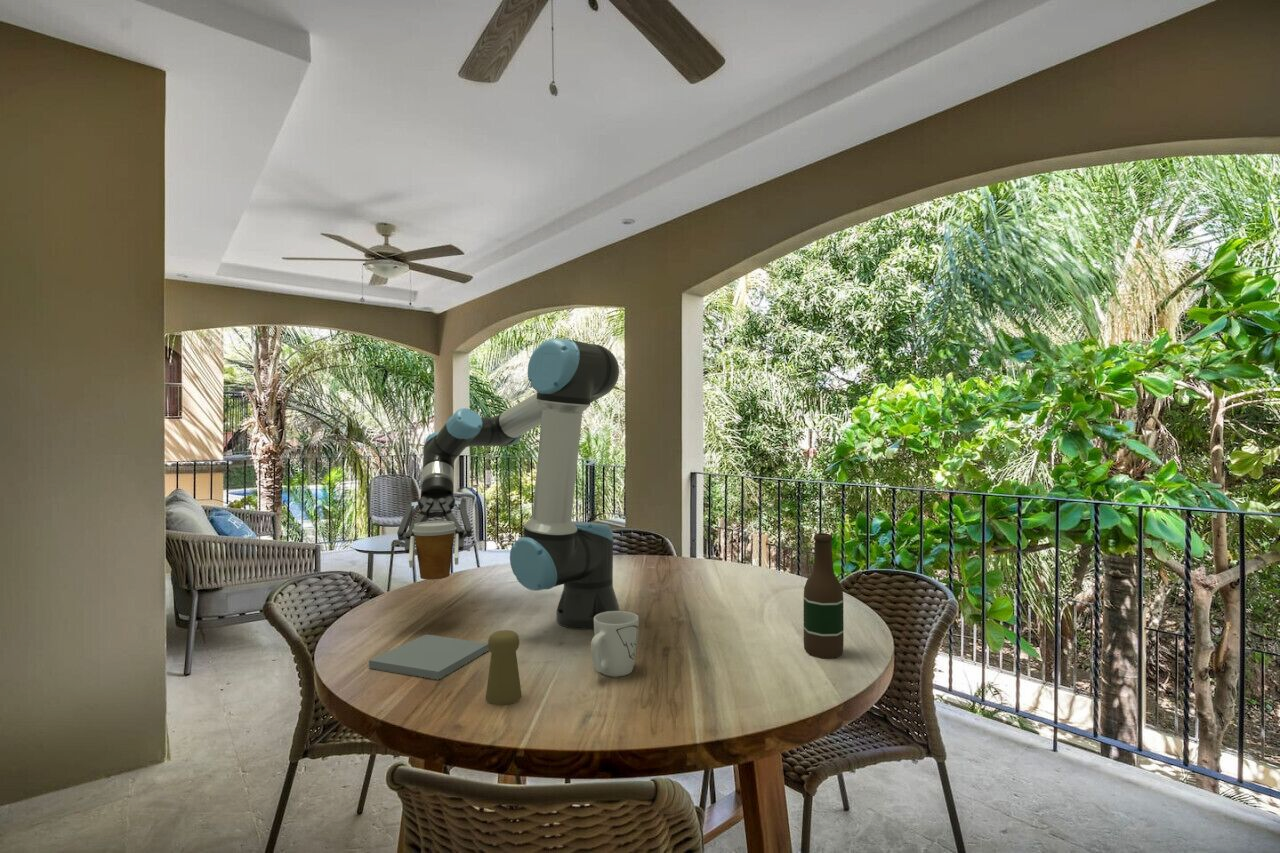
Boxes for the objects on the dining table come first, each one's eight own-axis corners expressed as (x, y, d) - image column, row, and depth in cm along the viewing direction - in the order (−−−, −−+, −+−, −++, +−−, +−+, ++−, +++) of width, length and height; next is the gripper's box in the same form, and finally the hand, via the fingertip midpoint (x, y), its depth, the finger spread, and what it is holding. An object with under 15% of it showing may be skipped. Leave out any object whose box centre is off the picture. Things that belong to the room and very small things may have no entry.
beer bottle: (843, 648, 130) (843, 532, 130) (843, 661, 123) (842, 538, 123) (805, 644, 133) (804, 530, 133) (802, 656, 125) (801, 536, 125)
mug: (612, 689, 110) (612, 631, 110) (574, 678, 114) (574, 623, 114) (647, 667, 120) (647, 615, 120) (610, 659, 124) (610, 608, 124)
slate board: (489, 650, 129) (489, 643, 129) (438, 680, 114) (438, 671, 114) (425, 641, 134) (425, 634, 134) (369, 668, 119) (369, 660, 119)
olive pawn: (488, 690, 109) (488, 627, 109) (523, 689, 110) (523, 626, 110) (482, 705, 103) (482, 638, 103) (519, 704, 104) (519, 637, 104)
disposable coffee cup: (463, 572, 146) (462, 520, 146) (446, 581, 137) (446, 526, 137) (424, 571, 147) (423, 520, 147) (404, 581, 138) (404, 526, 138)
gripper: (482, 493, 160) (484, 568, 144) (392, 496, 154) (383, 575, 139) (482, 473, 155) (484, 549, 139) (389, 476, 149) (379, 555, 134)
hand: (433, 562), depth 139 cm, fingers closed on disposable coffee cup, 9 cm apart
